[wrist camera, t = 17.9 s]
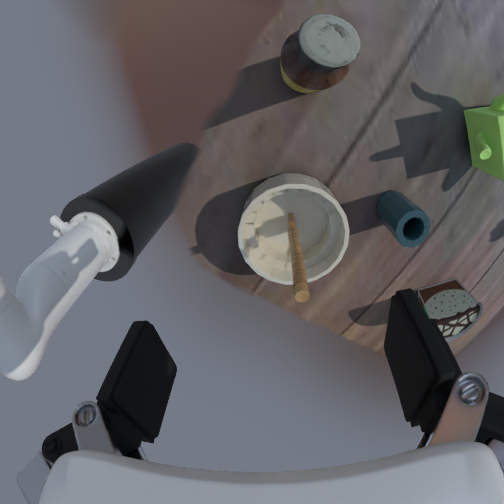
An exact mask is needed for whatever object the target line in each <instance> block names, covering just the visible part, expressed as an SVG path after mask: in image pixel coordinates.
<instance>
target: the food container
mask: <svg viewBox="0 0 504 504" xmlns="http://www.w3.org/2000/svg"><path fill="white" fill-rule="evenodd" d="M417 296H418V299H419V301H420V304H421V305H422V307H423V309H424V311H425V312H426V314H427V316H428V318H429V319H430V318H432V319H434V320H435V322H436V323H437V325H438V327H439V328H440V330H441V332H442V334H443V336H444V338H445V340H446V342H447V341H451V340H454V339H457V338H459V337H460V336H462V335H463V334H465V333H466V332H467V331H469V330H470V329H471V328H472V327H473V326H474V325H475V323H476V322H477V321H478V319H479V318H480V316H481V314H482V312H483V305H482V303H481V301H480V302H479V303H478V302H477V301H476V299H475V298H474V297H473V296H472V295H471V294H470V293H469V292H468V291H467V290H466V289H465V288H464V286H463V285H462V284H461V283H460V282H459V281H458V280H457V279H456V278H455V279H451V280H448V281H445V282H441V283H438V284H434V285H431V286H427V287H424V288H420V289H417Z"/></svg>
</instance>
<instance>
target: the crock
mask: <svg viewBox="0 0 504 504" xmlns="http://www.w3.org/2000/svg"><path fill="white" fill-rule="evenodd" d="M376 211H377V215H378V217H379V218H380V220H381V221H382V222H383V223H384V225H385V226H386V227H387V228H388V229H389V231H390V232H391V233H392V234H393V236H394V237H395V238H396V239H397V241H398V242H399V243H400V244H401V245H403V246H404V247H415V246H417V245H419V244H421V243H422V242H423V241H424V240H425V238H426V237H427V236H428V233H429V230H430V221H429V217H428V216H427V215H426V214H425V212H424V211H422V210H421V209H420V208H419V207H418V206H417V205H415V204H414V203H413V202H412V201H411V200H409V199H408V198H407V197H406V196H404V195H403V194H402V193H400V192H398V191H394V190H391V191H387V192H385V193H384V194H383V195H382V196H381V197H380V198H379V200H378V202H377V206H376Z"/></svg>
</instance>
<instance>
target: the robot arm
mask: <svg viewBox="0 0 504 504" xmlns="http://www.w3.org/2000/svg"><path fill="white" fill-rule="evenodd" d="M50 224H52V225H53V226H54V227H56V228H58V229H59V230H60V231H58V230H57V229H56V230H55V231H54V232H53V235H54V236H55V237H56V238H58V239H59V240H57V241H56V242H55V243H54V244H53V245H52V246H50V247H49V248H48V249H47V250H46V251H45V252H44V253H42V254H41V255H40V256H39V257H38V258H37V259H36V260H35V261H34V262H33V263H32V264H30V266H28V267H27V268H26V269H25V270H24V272H23V273H22V275H21V277H20V279H19V281H18V285H17V290H16V296H14V295H13V293H12V292H11V290H10V289H9V287H8V286H7V284H6V283H5V281H4V280H3V278H2V276H1V275H0V372H1V373H2V374H3V375H5V376H6V377H8V378H10V379H13V380H18V381H20V380H24V379H27V378H28V377H30V376H31V375H32V374H33V372H34V371H35V370H36V368H37V367H38V365H39V363H40V361H41V358H42V356H43V353H44V351H45V348H46V346H47V344H48V341H49V339H50V337H51V335H52V333H53V332H54V330H55V328H56V327H57V325H58V324H59V322H60V321H61V319H62V318H63V317H64V315H65V314H66V313H67V311H68V310H69V308H70V307H71V305H73V303H74V302H75V301H76V299H77V298H78V297H79V296H80V294H81V293H82V292H83V291H84V289H85V288H86V287H87V286H88V284H89V283H90V282H91V281H92V279H93V278H94V277H95V276H96V275H97V273H98V272H105V271H108V270H110V269H112V268H113V267H114V266H115V264H116V263H117V261H118V259H119V256H120V244H119V240H118V237H117V235H116V233H115V231H114V229H113V228H112V226H111V225H110V224H109V223H108V222H107V221H106V220H105V219H104V218H103V217H101V216H99V215H98V214H95V213H92V212H81V213H79V214H77V215H76V216H74V217H73V218H72V219H71V220H70V222H69V223H68V222H63V221H62V220H61V219H60V218H59V217H57V216H56V215H53V216H52V217H51V219H50ZM384 350H385V353H386V356H387V359H388V362H389V366H390V369H391V371H392V375H393V378H394V381H395V385H396V388H397V391H398V395H399V398H400V401H401V405H402V409H403V412H404V416H405V419H406V421H407V422H409V421H410V422H411V426H412V427H414V426H418V425H420V427H421V431H422V432H423V434H422V436H421V438H420V440H419V442H418V444H417V446H416V447H415V449H414V450H411V451H407V452H403V453H399V454H396V455H392V456H388V457H383V458H379V459H374V460H369V461H364V462H359V463H354V464H349V465H342V466H337V467H329V468H321V469H312V470H301V471H287V472H286V471H285V472H228V471H213V470H202V469H193V468H185V467H177V466H170V465H164V464H159V463H154V462H149V461H148V460H147V458H146V456H145V454H144V452H143V450H142V448H141V446H140V445H141V441H143V442H149V443H154V439H155V438H156V437H158V435H159V432H160V428H161V424H162V421H163V417H164V414H165V410H166V406H167V403H168V400H169V396H170V393H171V389H172V386H173V383H174V379H175V376H176V372H177V367H176V364H175V362H174V361H173V359H172V357H171V356H170V354H169V352H168V351H167V349H166V347H165V346H164V344H163V342H162V340H161V338H160V337H159V335H158V333H157V331H156V330H155V328H154V326H153V325H152V324H150V323H149V322H148V321H135V322H133V324H132V325H131V327H130V329H129V331H128V333H127V335H126V337H125V339H124V341H123V343H122V345H121V347H120V349H119V351H118V353H117V355H116V357H115V359H114V361H113V363H112V365H111V367H110V369H109V371H108V373H107V375H106V378H105V380H104V382H103V384H102V386H101V388H100V391H99V393H98V395H97V397H96V399H97V400H98V401H97V404H96V403H95V402H92V401H85V402H82V403H81V404H79V405H78V406H77V407H76V408H75V410H74V412H73V415H72V423H70V424H68V425H67V426H65V427H63V428H61V429H59V430H58V431H56V432H54V433H52V434H50V435H49V436H47V437H46V439H45V440H44V442H43V445H42V452H40V451H39V452H38V453H37V454H36V455H35V456H34V457H33V458H32V459H31V460H30V461H29V462H28V463H27V464H26V465H25V466H24V467H23V468H22V469H21V470H20V471H19V473H18V476H17V482H18V485H19V487H20V489H21V491H22V493H23V495H24V496H25V498H26V500H27V502H28V504H504V476H503V473H502V470H503V472H504V397H501V396H499V395H496V394H494V393H491V392H489V386H488V383H487V382H486V379H485V378H484V377H483V376H482V375H479V374H478V373H474V372H468V373H464V374H462V372H461V370H460V368H459V366H458V364H457V362H456V359H455V357H454V355H453V353H452V351H451V349H450V347H449V345H448V343H447V342H446V340H445V338H444V336H443V334H442V332H441V330H440V328H439V327H438V325H437V323H436V322H435V320H434V319H432V318H430V319H429V318H428V316H427V314H426V312H425V311H424V309H423V307H422V305H421V304H420V302H419V300H418V298H417V297H416V295H415V293H414V292H413V290H412V289H410V288H409V289H404V290H399V291H397V292H396V294H395V295H394V296H392V298H391V305H390V312H389V319H388V325H387V331H386V336H385V342H384ZM501 469H502V470H501Z"/></svg>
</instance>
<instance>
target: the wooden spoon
mask: <svg viewBox="0 0 504 504" xmlns="http://www.w3.org/2000/svg"><path fill="white" fill-rule="evenodd" d="M288 222H289V228H288V239H289V248H290V257H291V267H292V276H293V287H294V297H295V300H296V301H297V302H300V303H303V302H306V301H307V300H308V299H309V297H310V294H309V288H308V282H307V276H306V271H305V265H304V259H303V254H302V248H301V243H300V238H299V232H298V229H297V227H295V221H294V216H293V213H291V214H288Z"/></svg>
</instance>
